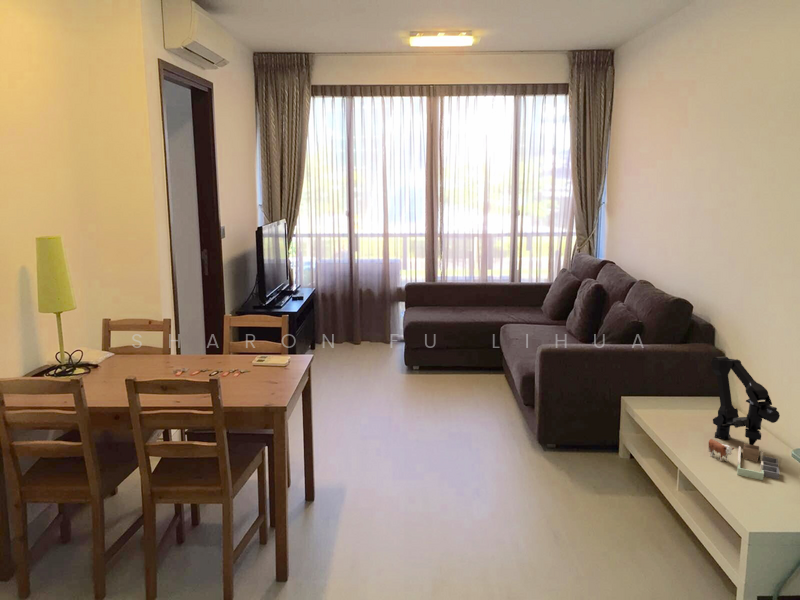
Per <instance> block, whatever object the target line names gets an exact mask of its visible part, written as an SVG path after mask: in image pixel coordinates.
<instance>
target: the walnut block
mask: <svg viewBox="0 0 800 600" xmlns="http://www.w3.org/2000/svg"><path fill="white" fill-rule="evenodd" d="M759 456H760V446H759V445H755V444H754V445H750V444H749V443H743V449H742V456H741V457H742V459H745V460H751V461H754V462H759V461H758V460H759Z"/></svg>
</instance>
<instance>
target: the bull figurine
mask: <svg viewBox="0 0 800 600" xmlns="http://www.w3.org/2000/svg"><path fill="white" fill-rule="evenodd" d="M734 449H735V448H734V447H731V446H729V445H728V444H725V443H724V444H723V443H721V442H719V441H718V440H717V441H716V440H714V439H712V438H710V439H709V441H708V452H709V453H710V456H711V457H712V458H713V457H714V455H715V453H716V454H720V456H719V457H720V458H719V461H720V462H722V461H723V460H722V459H723V457H725V462H727V463H729V460H728V456H729V455H732V451H733V450H734Z"/></svg>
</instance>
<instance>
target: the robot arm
mask: <svg viewBox="0 0 800 600" xmlns="http://www.w3.org/2000/svg"><path fill="white" fill-rule="evenodd" d="M710 366H711V369H712V371H713V374H715V375H716V379H717V387H718V396H719V403H720V404H719V405H720V406H719V407H718V410H717V416H716V417H714V418H712V423H713V424H714V425H715V426H716V431H715V432H714V438H715V439H716V438H717V439H723V440H728V441H730V439H731V435H730V432H731V427H732V426H733V427H734V428H741V427H745V429H744V430H745V431H744V433H745V434H744V437H745V438H748V444H750V445H755V443H756V442H757V441H759V440H760V441H761V440H762V433H761V430H762V422H763V420H766V421H767V422H769V423H771V424H775V423H776V422H778V421H779V420H780V412H779V411H778V408H777V407H776V406H772V405H773V403H772V399H771V397H770V395H769V392H768V390H767V388H765V387H764V386H763V384H760V383H759V382H757V381H756V380H755V379H754V378H753V376H751V374H750V373H749V371H748V370H747V369H746V368H745V366H744V365H743V364H742V362H741V360H740V359H738V358H737V359H735V358H729V357H728V356H714V357H713V358H711V360H710ZM731 370H732V372H733V373H734V375H736V377H737V379H738V380H739V381H740V382H741V383H742V385H743V386H744V388H745V393H746V395H747V397H748V399H746V400H745V403H748V404H749V405H748V412H747V414H746V416H739V410H738V408H735V407H734V405H733V403H732V402H733V401H732V394H731V387H730V381H729V374H730V372H731Z"/></svg>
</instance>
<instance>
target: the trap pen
mask: <svg viewBox="0 0 800 600" xmlns="http://www.w3.org/2000/svg"><path fill="white" fill-rule="evenodd" d="M741 452H742V447H741V446H740V445H739V446H738V451H737V472H736V475H737V476H741V477H746V478H750V479H755V480H761V481H764V478H765V477H766V478H770V479H775V480H779V479H780V467H779V459H778V458H777V457H772V456H766V455H764V451H763V450H760V452H759V460H760V467H759V468H760V471H757V470H752V469H748V468H747V469H746V468H742V467H741V457H742V455H741Z"/></svg>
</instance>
